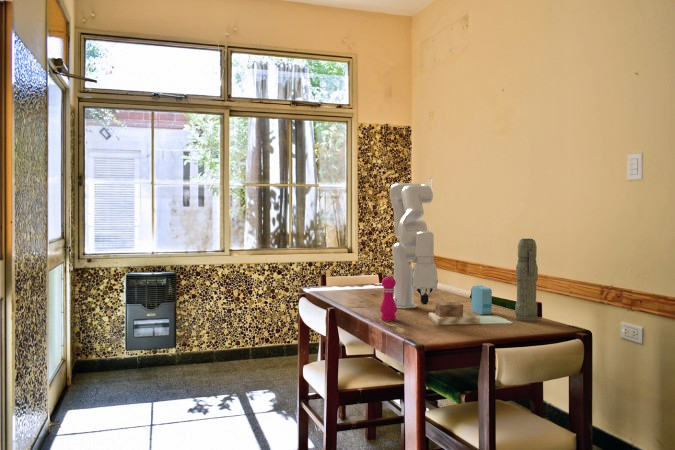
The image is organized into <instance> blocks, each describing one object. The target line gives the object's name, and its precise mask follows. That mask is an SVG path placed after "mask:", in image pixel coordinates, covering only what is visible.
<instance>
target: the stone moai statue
mask: <svg viewBox="0 0 675 450" xmlns="http://www.w3.org/2000/svg"><path fill="white" fill-rule="evenodd" d="M537 246H538V245H537V243H536V240H535V239H533V238H521V239H519V241H518V244H517V263H516V266H515V279H516V302H515V304H514V305H515V308H514V309H515V310H514V311H515V312H514V314H515V321H518V322H521V323H522V322H523V323H524V322H525V323H535V322H537V321H538V319H537V316H538V303H537V281H538V278H539V276H538V275H539V274H538V273H539V269H538V264H537V251H538V250H537Z"/></svg>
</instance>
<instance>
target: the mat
mask: <svg viewBox="0 0 675 450" xmlns="http://www.w3.org/2000/svg"><path fill="white" fill-rule="evenodd" d="M476 316H477V317H479V318H480V324H479V325H502V324H504V325H505V324H506V325H508V324H509V325H510V324H511V325H512V324H514V323H513V321H510V320H508V319H506V318H503V317H501V316H500V315H476Z"/></svg>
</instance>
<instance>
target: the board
mask: <svg viewBox="0 0 675 450" xmlns="http://www.w3.org/2000/svg"><path fill="white" fill-rule="evenodd" d="M477 316H478V315H475V314H473V313H471V312H469V311H463V316H460V317H439V316H438V315H436V312H428V319H429V320H430V321H432V322H433V323H435V324H436V325H438V326H440V325H442V326H443V325H446V326H447V325H481V324H480V318H479V317H477Z"/></svg>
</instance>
